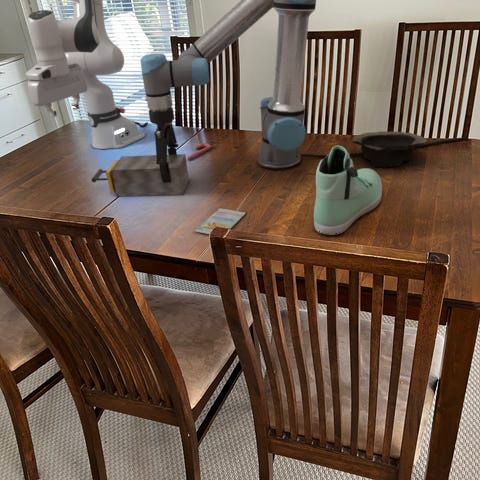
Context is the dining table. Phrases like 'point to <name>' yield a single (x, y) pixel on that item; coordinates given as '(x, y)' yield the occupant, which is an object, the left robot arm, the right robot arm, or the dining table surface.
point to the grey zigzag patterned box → (149, 176)
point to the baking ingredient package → (220, 220)
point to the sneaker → (343, 192)
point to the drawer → (109, 177)
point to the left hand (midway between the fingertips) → (65, 112)
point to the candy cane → (200, 150)
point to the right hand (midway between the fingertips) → (170, 174)
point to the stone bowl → (388, 147)
